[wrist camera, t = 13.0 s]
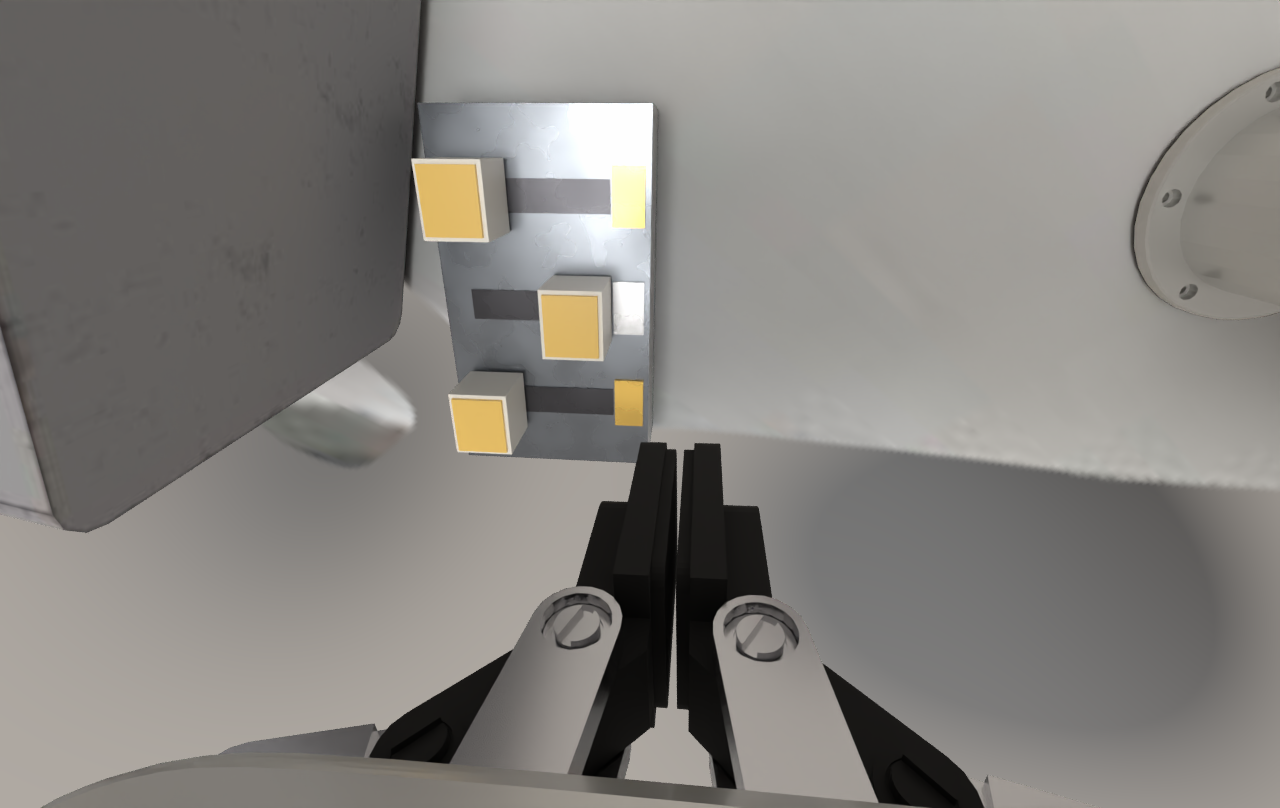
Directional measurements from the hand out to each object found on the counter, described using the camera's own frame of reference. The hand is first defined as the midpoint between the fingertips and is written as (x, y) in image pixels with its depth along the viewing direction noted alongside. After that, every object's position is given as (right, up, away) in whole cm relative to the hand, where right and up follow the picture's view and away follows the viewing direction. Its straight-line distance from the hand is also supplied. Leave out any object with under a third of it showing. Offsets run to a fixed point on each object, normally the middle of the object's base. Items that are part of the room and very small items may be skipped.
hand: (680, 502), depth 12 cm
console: (-5, +9, +22) cm, 25 cm away
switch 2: (-9, +2, +20) cm, 22 cm away
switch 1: (-9, +12, +15) cm, 21 cm away
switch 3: (-4, +7, +17) cm, 19 cm away
